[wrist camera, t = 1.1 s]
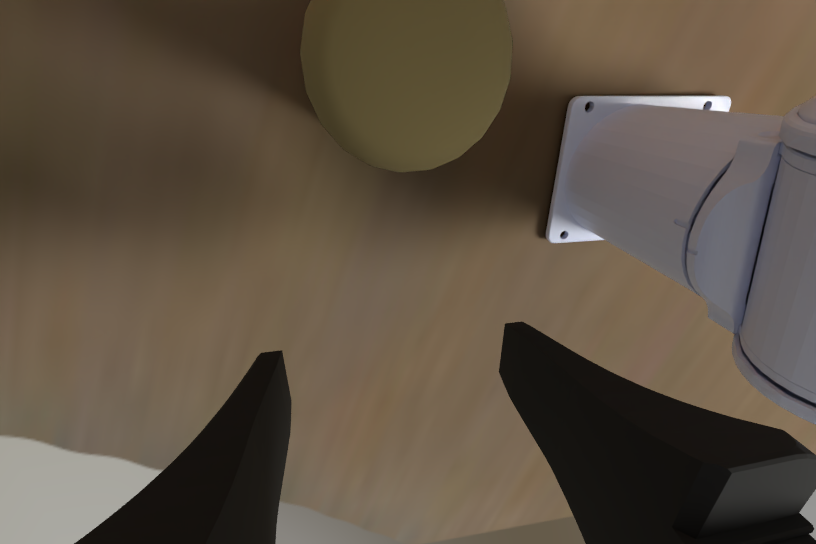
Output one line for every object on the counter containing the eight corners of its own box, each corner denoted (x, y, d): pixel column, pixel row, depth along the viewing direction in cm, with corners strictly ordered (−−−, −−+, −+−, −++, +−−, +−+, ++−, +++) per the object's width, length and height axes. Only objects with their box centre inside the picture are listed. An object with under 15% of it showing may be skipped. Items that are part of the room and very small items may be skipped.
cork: (304, -19, 16) (262, -166, 6) (444, 4, 17) (589, -92, 8) (305, 135, 19) (278, 195, 9) (427, 145, 20) (520, 208, 10)
